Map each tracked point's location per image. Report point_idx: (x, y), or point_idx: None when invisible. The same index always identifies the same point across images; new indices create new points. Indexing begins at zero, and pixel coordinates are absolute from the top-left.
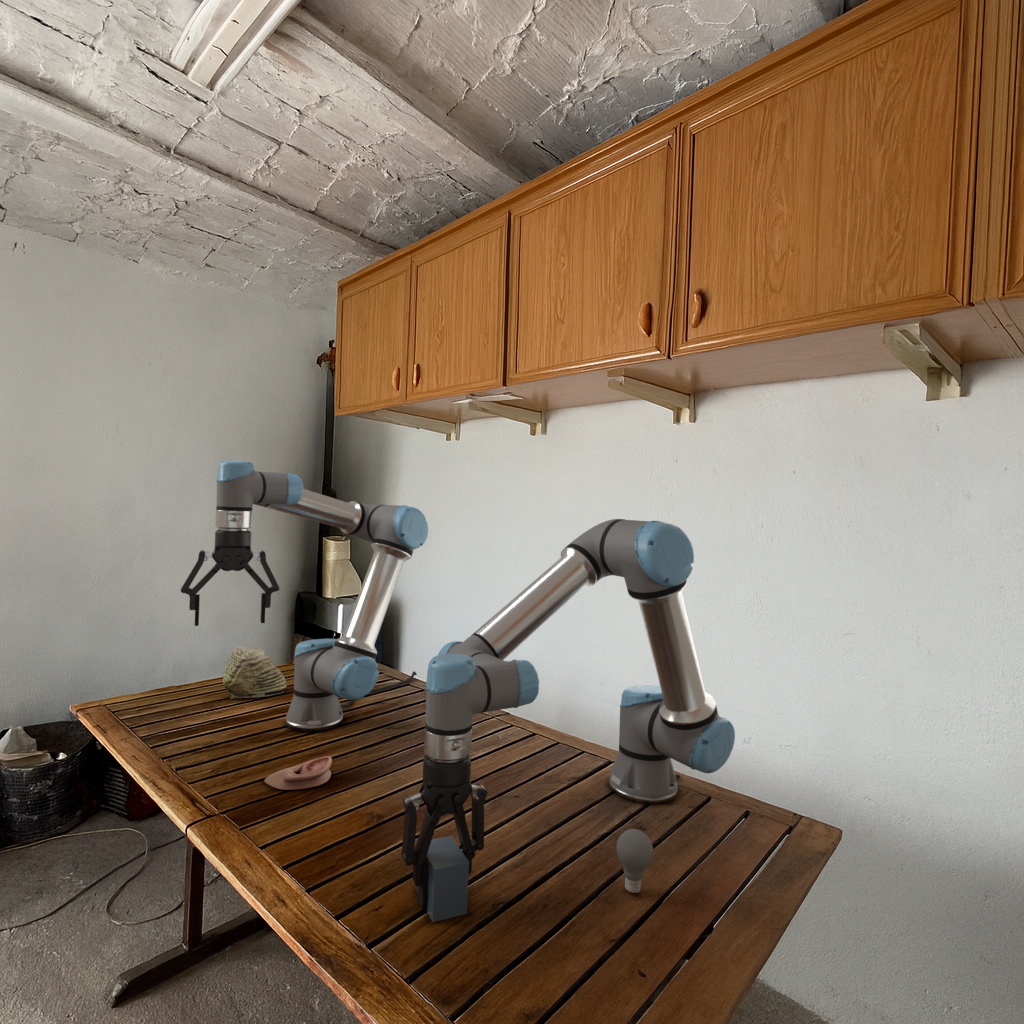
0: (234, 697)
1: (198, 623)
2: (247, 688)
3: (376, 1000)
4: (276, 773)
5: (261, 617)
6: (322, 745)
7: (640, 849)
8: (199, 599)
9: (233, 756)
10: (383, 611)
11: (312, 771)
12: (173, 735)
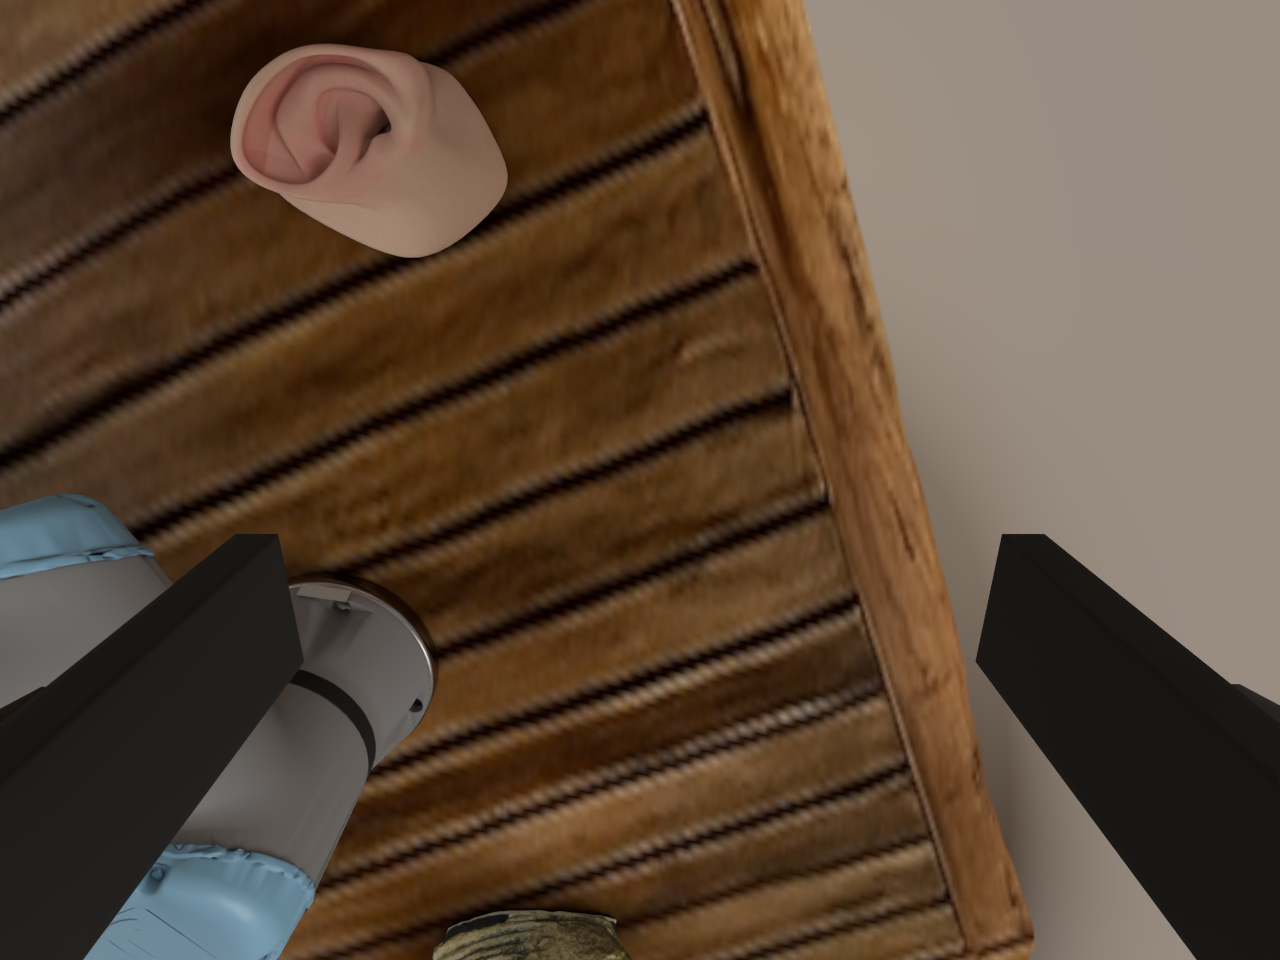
0: (602, 918)
1: (1016, 545)
2: (560, 938)
3: None
4: (460, 174)
5: (237, 570)
6: (306, 450)
7: None
8: (1193, 907)
9: (610, 448)
10: None
11: (315, 87)
12: (790, 677)
